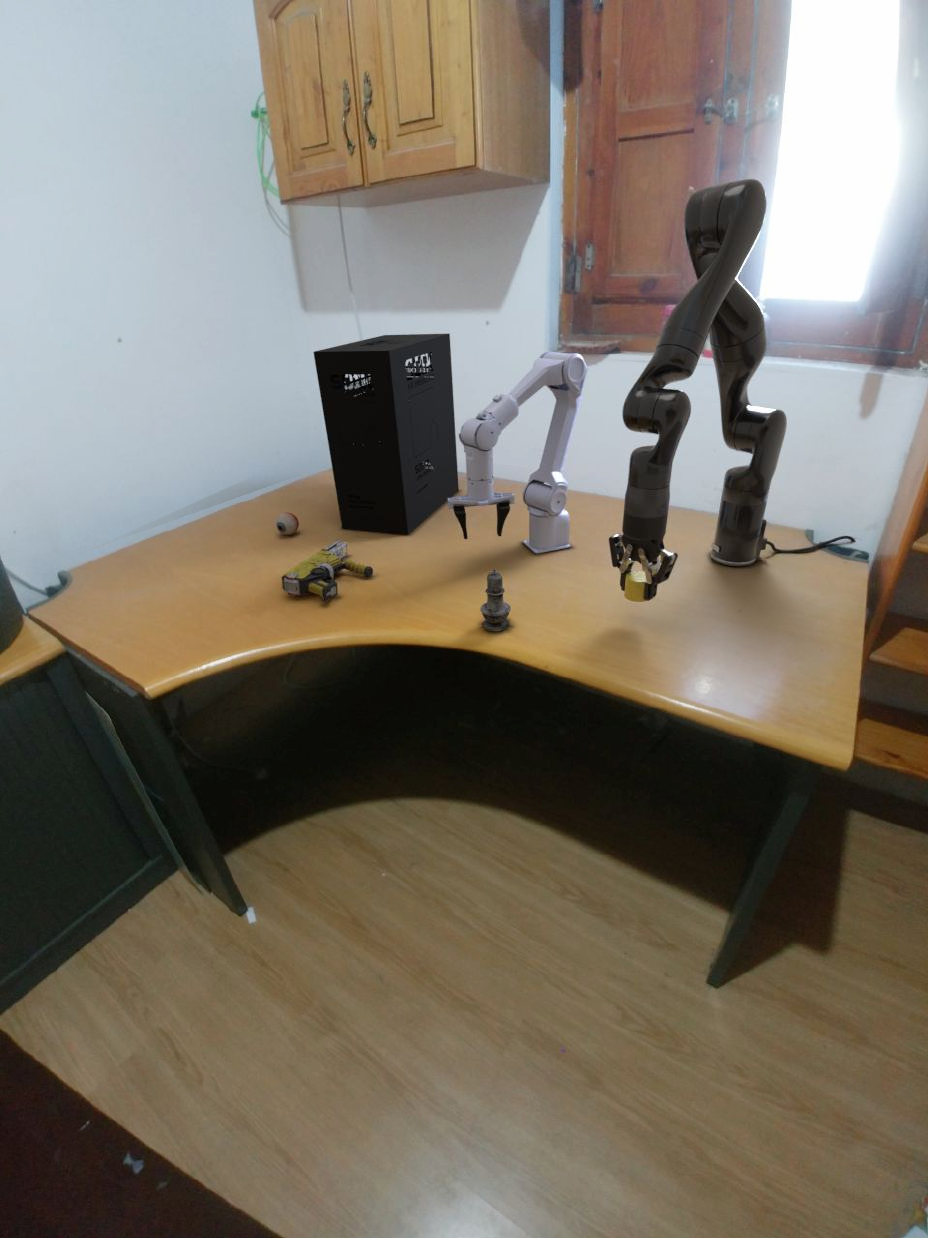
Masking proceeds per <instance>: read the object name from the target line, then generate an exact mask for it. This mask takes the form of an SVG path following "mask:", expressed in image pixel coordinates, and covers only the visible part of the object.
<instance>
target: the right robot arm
mask: <svg viewBox="0 0 928 1238" xmlns="http://www.w3.org/2000/svg"><path fill="white" fill-rule="evenodd" d="M766 214H767V195H766V189H765V188H764V185H763V183H762V182H761V181H759V180H758V179H755V178H746V179H740V180H734V181H729V182H725V183H719V184H716V185H711V186H707V187H703V188H700V189H698V190H695V191H694V192H693V193H692V194H690V196H689V198H688V200H687V202H686V205H685V207H684V213H683V233H684V239H685V240H684V241H685V244H686V249H687V252H688V256H689V260H690V263H691V266H692V269H693V273H694V276H695V279H696V282H695V283H694V284H693V285H692V286H691V288H690V289H689V290H688V291H687V292H686V293H685V295H683V297H681V299H680V300H679V301H678V302H677V304H675V306H674V307H673V309H672V310H671V312H670V314H669V315H668V317H667V319H666V320H665V323H664V325H663V328H662V329H661V333H660V336H659V338H658V340H657V343H656V346H655V349H654V351H653V355H652V357H651V359H650V360H649V362H648V363H647V365H646V366H645V368H644V369H643V371H642V373H641V374H640V375H639V377H638V378H637V379H636V381H635V383H634V384H633V385H632V387H631V389H630V390H629V391H628V393H627V395H626V397H625V400H624V402H623V405H622V411H621V412H622V414H621V416H622V421H623V424H624V426H625V428H627V429H628V430H629V431H632V432H635V433H643V434H651V435H657V436H658V437H657V438H658V439H657V442H656V443H655V444H654V445H653V444H652V445H643V446H639V447H636V448H634V449H633V450H632V452H631V453H630V457H629V464H628V474H627V475H628V476H627V484H626V490H625V493H624V503H623V514H622V515H623V517H622V527H621V532H622V534H621V533H616V534H613V535H612V536H610V537H608V544H609V550H610V558H611V559H610V560H611V565H612V567H613V568H617V569H618V570H619V572H620V578H619V586H620V590H621V591H622V592H624V591H625V580H626V574H627V573H629V572H632V571H633V570H632V569H633V568H634V566H635V563H636V562H637V563H638V564H641V571H642V572H645V576H646V581H647V582H646V583H645V592H644V600H646V601H645V602H649V601H651V600H653V599H654V598H655V597H656V596H657V595H658V594H657V593H658V586H659V584H662V583H664V582H665V581H667V580H669V579H670V576H671V574H672V571H673V569H674V567H675V565H676V562H677V560H678V558H679V555H678V553H677V552H676V551H673V552H670V551H668V550H667V549H666V548H665V544H664V538H665V535H666V533H667V526H668V518H669V517H668V516H669V509H670V502H671V501H670V500H671V481H672V480H671V479H672V472H673V471H672V470H673V463H674V460H675V456H676V453H677V450H678V447H679V444H680V441H681V439H682V437H683V435H684V433H685V430H686V428H687V426H688V423H689V420H690V418H691V412H692V403H691V400H690V397H689V396H688V394H687V393H686V392H685V391H684V390H681V389H676V388H675V389H673V388H665V387H666V386H668V385H669V384H672V383H677V382H682V381H686V380H688V379H690V378H691V377H692V375H693V374H694V373H695V371H696V368H697V366H698V363H699V360H700V357H701V355H702V352H703V349H704V348H705V347H704V346H705V343H706V342H707V338H708V340H709V345H710V346H709V347H710V351H711V357H712V360H713V361H712V362H713V364H714V369H715V374H716V380H717V389H718V394H719V403H720V404H719V405H720V406H719V407H720V421H721V434H722V438H723V442H724V444H725V446H726V447H727V448H728V449H729V450H732V451H735V452H740V453H745V454H750V455H752V457H751V459H750V462H749V464H745V465H739V466H733V467H731V468H729V469H726V472H725V473H724V477H723V484H722V490H721V496H720V500H719V501H720V502H719V507H718V514H717V519H716V524H715V531H714V537H713V542H711V545H710V546H711V552H710V558H711V559H712V560H713V561H714V562H716V563H718V564H721V565H724V566H729V567H746V566H751V565H753V564H754V563H755V562H757V561H760V556H761V553H762V552H761V551H765V550H766V547H767V545H769V546H770V547H771V549H772V551H773V552H776V553H780V554H797V553H802V552H803V553H804V552H809V551H812V550H816V549H817V548H820V547H822V546H826V545H829V544H832V543H835V542H837V541H841V540H849V541H850V542H856V539H855V538H854V537H853V536H851V535H841V536H837V537H835V538H831V539H829V540H825V541H821V542H819V543H817V544H815V545H811V546H809V547H803V548H798V549H797V548H796V549H785V550H784V549H779V548H777V547H776V546H775V544H774V543H773V542H771V541H769V540H768V538H767V537H765V533H766V528H767V522H768V521H767V519H765V513H766V508H767V505H768V504H767V503H768V499H769V494H770V489H771V484H772V480H773V477H774V475H775V473H776V470H777V467H778V462H779V458H780V454H781V451H782V447H783V443H784V440H785V436H786V433H787V426H788V425H787V424H788V423H787V421H788V420H787V414H786V413H785V412H784V411H783V410H781V409H779V408H772V407H764V406H758V405H752V404H751V402H750V401H749V396H748V388H749V384H750V382H751V380H752V378H753V377H754V375H755V374H756V372H757V371H758V369H759V367H760V365H761V363H762V362H763V359H764V357H765V355H766V354H767V353H766V352H767V345H768V343H767V342H768V341H767V340H768V339H767V332H766V331H767V330H766V323H765V316H764V312H763V310H762V308H761V306H760V304H759V303H758V302H757V300H756V299H755V298H754V296H753V295H752V294H751V293H750V292H749V290H748V289H746V288H745V286H743V284H742V283H741V282H740V281H739V279H738V276H739V274H740V272H741V271H742V268H743V266H744V265H745V263H746V261H747V259H748V257H749V256H750V253H751V252H752V250H753V248H754V246H755V244H756V242H757V240H758V238H759V236H760V233H761V230H762V227H763V225H764V221H765V218H766ZM659 557H660V558H659Z"/></svg>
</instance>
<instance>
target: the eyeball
mask: <svg viewBox="0 0 928 1238" xmlns="http://www.w3.org/2000/svg"><path fill="white" fill-rule="evenodd" d="M299 525H300V522H299V519H298V517H297V516H296V515H295V514H294V513H292V512H287V511H286V512H282V513H280V514H279V515H278V516H277V517H276V520H275V527H276V529H277V530H278V531H279V532H280V533H281V534H282V535H285V536H286V535H287V536H289V535H293V534H295V533H296V532H297V531H298V529H299Z"/></svg>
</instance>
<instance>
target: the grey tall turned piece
mask: <svg viewBox="0 0 928 1238" xmlns="http://www.w3.org/2000/svg"><path fill="white" fill-rule="evenodd" d="M505 590H506V589H505V588H503V574H501V573H500V572H498V571H497V569H496V568H493V569H492V572H490V573H488V574H487V576H486V589H485V590H484V591H485V593H486V598H487V601H486V602H485V603H483V604H482V605H481V606H480V609H479V610H480V612H481V615H482V616H483V619H484V620H483V621H482V627H483V628H484V629H485V630H486V631H491V632H501V631H504V630H506V629H508V628H509V627H510V621H509V620H508V619H507V618H508V617H509V615H510V612H511V610H512V607H511V605H510V604H509V603H508V602H505V601H504V593H505V592H506V591H505Z"/></svg>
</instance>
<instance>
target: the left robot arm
mask: <svg viewBox="0 0 928 1238" xmlns="http://www.w3.org/2000/svg"><path fill="white" fill-rule="evenodd" d="M588 370H589V368H588V366H587V364H586V361H585V358H584V357H583V355H582V354H579V353H565V352H555V351H554V352H553V351H550V350H547V351H544V352H542V353H541V354H540V355H539V357H537V358H536V359H535V360H534V361H533V364H532V367H531V368H530V369H529V371H528V372H527V373H526V374H525V375H524V376H523V377H522V378H521V380H520V381H518V383H517V384H516V385H515V386H514V387H513V388H512V389H511V390H510V392H509V393H508V394H505V393H500V394H499V395H498V394H496V395H494V396H493V397H492V401H491V402H490V403H489V404H487V406H486V407H485V408H484V409H482V410H480V411H479V412H478V413H477V415H476V416H475V418H474V417H471V418H468V419H467V420H466V421H465V422H463V424H462V425H461V428H460V432H459V433H458V439H459V441H460V443H461V444H462V446H463V450H464V451H463V452H464V454H465V466H466V467H465V468H466V486H467V487H466V488H467V494H465V495H460V496H454V497H453V496H452V497H450V498H448V500H447V507H448V510H453V513H454V516H455V517H456V519H457V521H458V523H459V524H460V527H461V530H462V535H463V539H464V540H468V531H467V530H468V529H467V513H466V508H469V507H484V506H485V507H486V506H496V534H497V536H498V537H502V535H503V534H502V533H503V528H504V525H505V522H506V519H507V517H508V515H509V513H510V511H511V506H510V505H515V494H514V492H495V489H494V487H495V485H494V450H493V449H494V448H495V446H496V445H497V444H498V441H499V437H500V435H501V434H502V432H503V431H504V429H506V428H507V426H509V425H510V424H511V423H512V422H513V421H514V420H515V419H516V418H517V417H518V416H519V411H520V407H521V406H522V405H523V404H525V403H526V402H527V401H528V400H529V399H530V398H532V397H533V396H534V395H535V394H536V393H537V392H539V391H540V390H541V389H542V388H544V387H547V389H549V390H550V392H552V394H553V396H554V398H555V404H554V408H553V411H552V415H551V420H550V424H549V428H548V432H547V436H546V439H545V444H544V447H543V451H542V455H541V460H540V463H539V467H538V468H537V470H535V471H533V472H532V473H531V474H530V475H529V477H528V481H527V483H526V484H525V486H524V488H523V491H522V501H523V504H525V505H526V506H527V507H526V508H527V511H529V512H528V513H529V514H528V539H524V540H523V541H522V543H523V544H524V545H525V546H526V547H527V548H528V549H530V550H531V551H532V552H533V553H534V554H537V555H538V554H542V553H548V552H552V551H558V550H564V549H568V548H571V544H570V535H571V534H570V533H571V532H570V531H571V519H570V514H569V512H568V511H567V509H566V506H567V502H568V488H569V484H568V481H567V480H566V479H565V476H563V472H564V471H563V470H564V467H565V464H566V459H567V456H568V452H569V447H570V445H571V441H572V437H573V433H574V429H575V426H576V422H577V418H578V414H579V411H580V407H581V402H582V398H583V389H584V386H585V381H586V379H587V374H588Z"/></svg>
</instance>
